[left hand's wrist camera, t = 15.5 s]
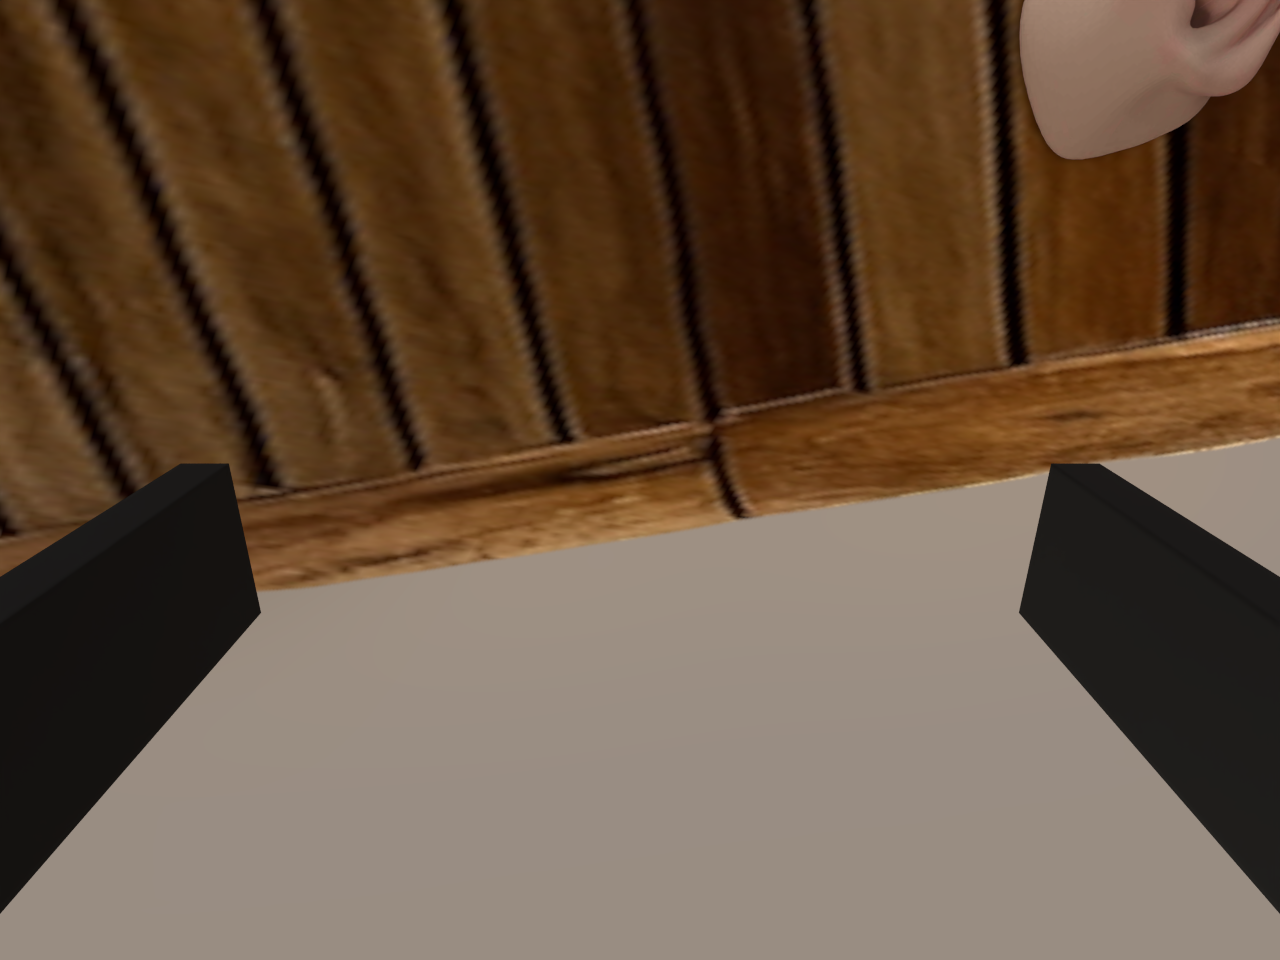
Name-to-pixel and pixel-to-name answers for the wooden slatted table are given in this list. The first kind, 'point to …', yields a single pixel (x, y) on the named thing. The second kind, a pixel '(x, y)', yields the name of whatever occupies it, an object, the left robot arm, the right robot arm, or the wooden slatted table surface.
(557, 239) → the wooden slatted table surface
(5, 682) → the left robot arm
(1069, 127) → the anatomical model
